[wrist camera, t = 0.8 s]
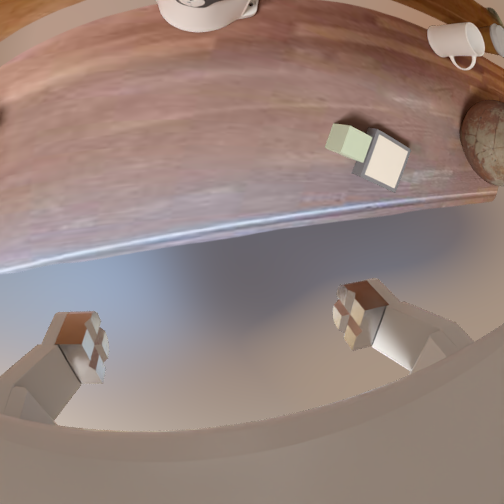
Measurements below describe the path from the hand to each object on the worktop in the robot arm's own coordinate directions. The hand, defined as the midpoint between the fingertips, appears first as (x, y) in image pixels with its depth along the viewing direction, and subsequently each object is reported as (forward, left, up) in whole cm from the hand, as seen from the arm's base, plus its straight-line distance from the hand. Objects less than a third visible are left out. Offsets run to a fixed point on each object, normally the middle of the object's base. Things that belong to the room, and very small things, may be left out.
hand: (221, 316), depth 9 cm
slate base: (-10, +34, -40) cm, 54 cm away
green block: (-10, +24, -40) cm, 48 cm away
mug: (-45, +42, -41) cm, 74 cm away
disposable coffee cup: (-58, +54, -41) cm, 90 cm away
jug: (-30, +62, -41) cm, 80 cm away
